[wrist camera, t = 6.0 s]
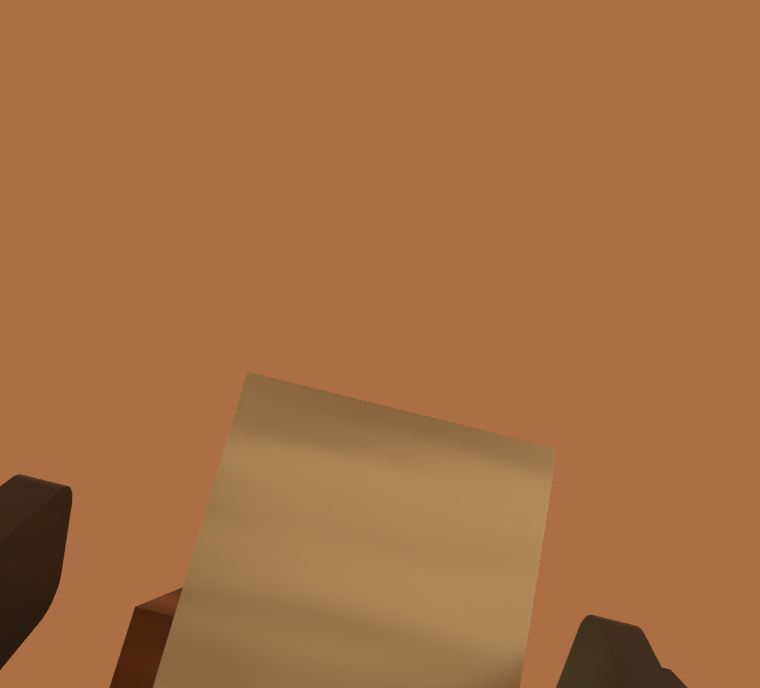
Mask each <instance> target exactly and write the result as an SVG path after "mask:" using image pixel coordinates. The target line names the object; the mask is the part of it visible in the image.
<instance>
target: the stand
mask: <svg viewBox="0 0 760 688" xmlns="http://www.w3.org/2000/svg"><path fill="white" fill-rule="evenodd" d="M182 589H183V587H182V588H180V589H178V590H175V591H173V592H170V593H168V594H166V595H163V596H161V597H158V598H156V599H154V600H151V601H149V602H146V603H144V604H141V605H139V606H136V607H135V609H134V612H133V616H132V619H131V622H130V625H129V628H128V631H127V635H126V638H125V641H124V644H123V647H122V650H121V653H120V657H119V660H118V663H117V666H116V669H115V672H114V676H113V679H112V682H111V685H110V688H153V686H154V682H155V679H156V675H157V672H158V669H159V665H160V662H161V659H162V655H163V652H164V649H165V645H166V642H167V639H168V635H169V632H170V629H171V625H172V622H173V619H174V615H175V612H176V609H177V605H178V602H179V599H180V595H181V592H182Z"/></svg>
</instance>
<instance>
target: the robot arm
mask: <svg viewBox="0 0 760 688" xmlns="http://www.w3.org/2000/svg"><path fill="white" fill-rule="evenodd" d="M71 506H72V491H71V488H70V487H68V486H65V485H61V484H57V483H53V482H49V481H45V480H41V479H37V478H33V477H29V476H25V475H16V476H14V477H12V478H11V479H10V480H8V481H7V482H6V483H4V484H3V485H2V486H0V670H1V668H2V667H3V666H4V665H5V664H6V662H7V661H8V660H9V658H10V657H11V656H12V655H13V654H14V653H15V651H16V650H17V649H18V648H19V647H20V645H21V644H22V643H23V642H24V640H25V639H26V638H27V637H28V636H29V634H30V633H31V632H32V631H33V629H34V628H35V627H36V626H37V625H38V623H39V622H40V621H41V620H42V618H43V617H44V615H45V614H46V612H47V610H48V609H49V607H50V605H51V603H52V601H53V598H54V596H55V594H56V591H57V588H58V585H59V581H60V577H61V572H62V565H63V558H64V552H65V545H66V538H67V532H68V525H69V519H70V512H71ZM556 688H687V687H686V686H685V685H684V684H683V683H682V681H681V680H680V679H679V678H678V677H677V676H676V675H675V674H674V673H673V672H672V671H671V670H670V669H666V668H662V667H661V665H660V663H659V661H658V660H657V658H656V656H655V654H654V652H653V650H652V648H651V646H650V644H649V642H648V640H647V638H646V636H645V634H644V633H643V631H642V630H641V629H640V628H639V627H638V626H634V625H630V624H626V623H622V622H618V621H614V620H610V619H606V618H602V617H598V616H594V615H588V616H586V617H585V618H584V620H583V621H582V623H581V625H580V627H579V629H578V632H577V634H576V637H575V640H574V642H573V645H572V647H571V650H570V653H569V655H568V658H567V661H566V664H565V666H564V669H563V671H562V674H561V676H560V679H559V682H558V684H557V687H556Z"/></svg>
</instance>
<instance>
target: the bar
mask: <svg viewBox="0 0 760 688" xmlns="http://www.w3.org/2000/svg"><path fill="white" fill-rule="evenodd" d="M556 454H557V449H556V448H551V447H547V446H543V445H539V444H535V443H531V442H527V441H523V440H519V439H515V438H511V437H507V436H503V435H499V434H495V433H491V432H487V431H483V430H479V429H475V428H471V427H467V426H463V425H459V424H455V423H451V422H447V421H443V420H439V419H435V418H431V417H427V416H422V415H419V414H415V413H410V412H407V411H403V410H398V409H395V408H391V407H386V406H383V405H378V404H374V403H370V402H366V401H362V400H358V399H354V398H350V397H346V396H342V395H338V394H334V393H330V392H326V391H322V390H318V389H314V388H310V387H306V386H302V385H297V384H293V383H290V382H286V381H282V380H278V379H274V378H270V377H265V376H262V375H257V374H253V373H249V372H247V375H246V378H245V381H244V385H243V388H242V392H241V395H240V398H239V402H238V405H237V408H236V412H235V415H234V418H233V422H232V425H231V429H230V431H229V435H228V438H227V441H226V445H225V448H224V452H223V455H222V459H221V462H220V465H219V469H218V472H217V475H216V478H215V482H214V485H213V488H212V492H211V495H210V498H209V502H208V505H207V508H206V512H205V515H204V518H203V522H202V525H201V529H200V532H199V535H198V538H197V542H196V545H195V549H194V552H193V555H192V559H191V562H190V565H189V569H188V572H187V575H186V579H185V582H184V585H183V589H182V592H181V595H180V599H179V602H178V605H177V609H176V612H175V615H174V619H173V622H172V625H171V629H170V632H169V635H168V639H167V642H166V645H165V649H164V652H163V655H162V659H161V662H160V665H159V669H158V672H157V675H156V679H155V682H154V686H153V688H520V682H521V676H522V670H523V663H524V657H525V650H526V644H527V638H528V632H529V625H530V619H531V613H532V606H533V600H534V593H535V586H536V580H537V574H538V568H539V562H540V555H541V549H542V543H543V536H544V530H545V524H546V517H547V510H548V505H549V497H550V492H551V486H552V479H553V473H554V466H555V460H556Z"/></svg>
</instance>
